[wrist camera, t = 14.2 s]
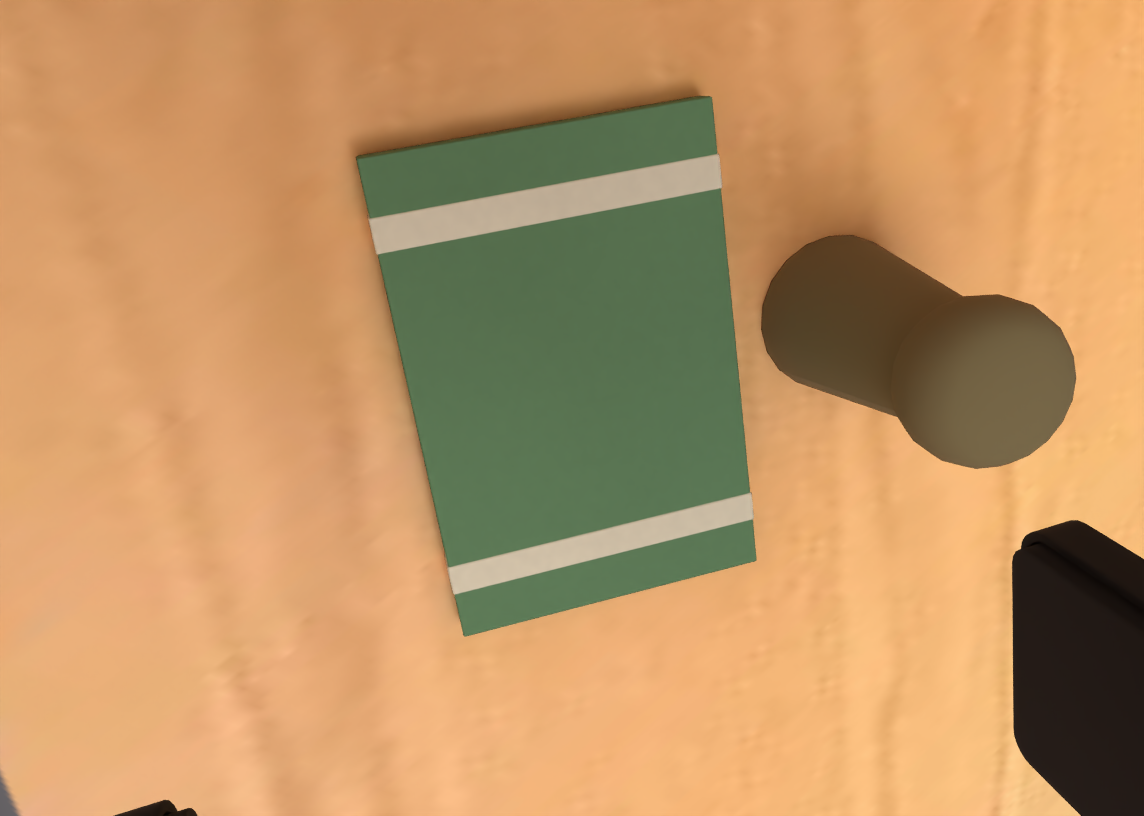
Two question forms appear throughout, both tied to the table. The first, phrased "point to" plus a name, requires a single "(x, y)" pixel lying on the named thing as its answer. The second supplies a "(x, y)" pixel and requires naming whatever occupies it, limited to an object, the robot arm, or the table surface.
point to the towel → (569, 355)
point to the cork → (920, 351)
